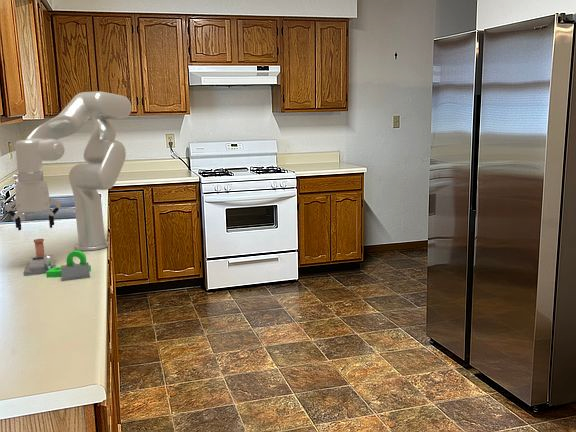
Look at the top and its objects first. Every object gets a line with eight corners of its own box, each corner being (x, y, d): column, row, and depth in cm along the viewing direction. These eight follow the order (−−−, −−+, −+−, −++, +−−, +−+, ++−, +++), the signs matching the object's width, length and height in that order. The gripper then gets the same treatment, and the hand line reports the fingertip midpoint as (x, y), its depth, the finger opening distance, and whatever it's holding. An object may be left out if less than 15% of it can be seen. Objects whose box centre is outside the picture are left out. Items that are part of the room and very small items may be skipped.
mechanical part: (91, 270, 185) (88, 246, 184) (86, 276, 179) (83, 251, 178) (53, 272, 184) (50, 248, 183) (46, 278, 178) (43, 253, 177)
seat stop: (62, 278, 177) (60, 265, 176) (89, 274, 179) (88, 262, 179) (62, 280, 174) (60, 268, 173) (89, 277, 177) (88, 264, 176)
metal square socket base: (26, 268, 190) (24, 253, 189) (55, 264, 193) (53, 249, 192) (23, 275, 181) (21, 260, 180) (54, 272, 184) (52, 256, 183)
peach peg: (36, 263, 195) (33, 239, 194) (46, 262, 196) (44, 238, 195) (36, 266, 192) (33, 241, 191) (46, 265, 193) (43, 240, 192)
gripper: (0, 179, 182) (5, 232, 185) (58, 177, 188) (63, 228, 191) (3, 178, 189) (8, 229, 192) (59, 175, 195) (63, 224, 198)
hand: (35, 228), depth 191 cm, fingers open, 9 cm apart
